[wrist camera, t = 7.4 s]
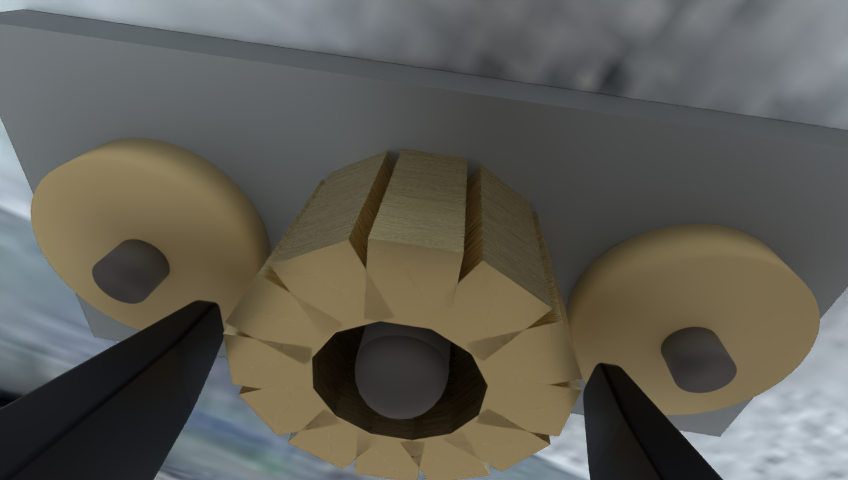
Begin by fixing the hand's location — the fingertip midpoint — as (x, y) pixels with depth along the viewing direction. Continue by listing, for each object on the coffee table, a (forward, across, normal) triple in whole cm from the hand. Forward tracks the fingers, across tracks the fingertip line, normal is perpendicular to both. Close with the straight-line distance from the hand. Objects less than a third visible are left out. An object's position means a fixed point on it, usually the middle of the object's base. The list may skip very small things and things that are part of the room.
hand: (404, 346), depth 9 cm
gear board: (+4, 0, 0) cm, 4 cm away
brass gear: (+2, 0, 0) cm, 2 cm away
